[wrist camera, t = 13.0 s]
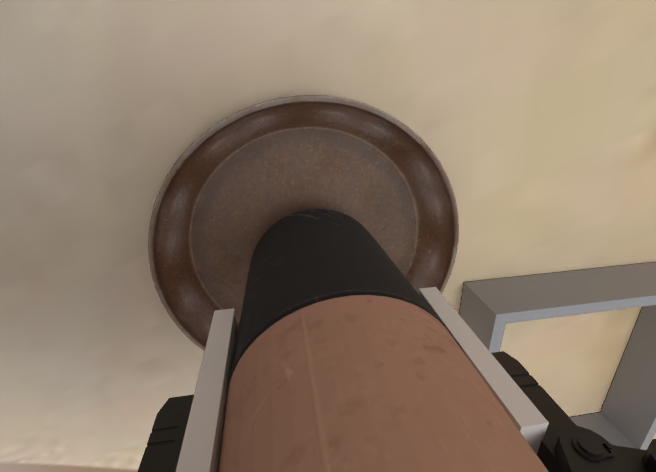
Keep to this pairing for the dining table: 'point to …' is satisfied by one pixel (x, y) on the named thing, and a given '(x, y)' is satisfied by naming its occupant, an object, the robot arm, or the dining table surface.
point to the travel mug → (353, 366)
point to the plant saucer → (294, 199)
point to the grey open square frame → (572, 299)
